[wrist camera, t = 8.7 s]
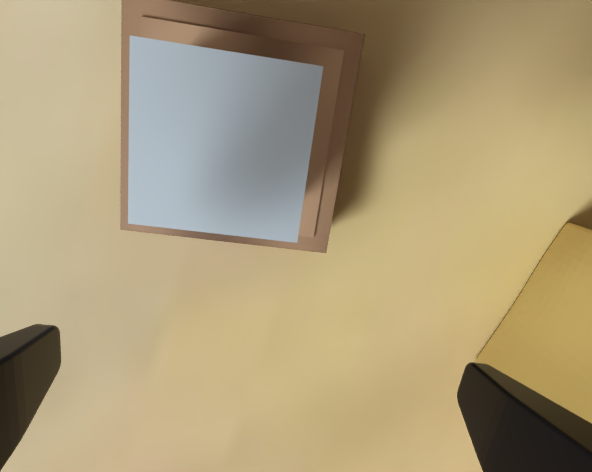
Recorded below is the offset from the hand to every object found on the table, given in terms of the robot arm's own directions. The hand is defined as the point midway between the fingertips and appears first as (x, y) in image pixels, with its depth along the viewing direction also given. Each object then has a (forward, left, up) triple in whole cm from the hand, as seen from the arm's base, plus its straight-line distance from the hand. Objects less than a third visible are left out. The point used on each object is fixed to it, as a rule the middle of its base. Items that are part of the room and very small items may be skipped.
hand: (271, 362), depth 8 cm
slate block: (+2, -4, -9) cm, 10 cm away
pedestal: (+2, -4, -12) cm, 13 cm away
